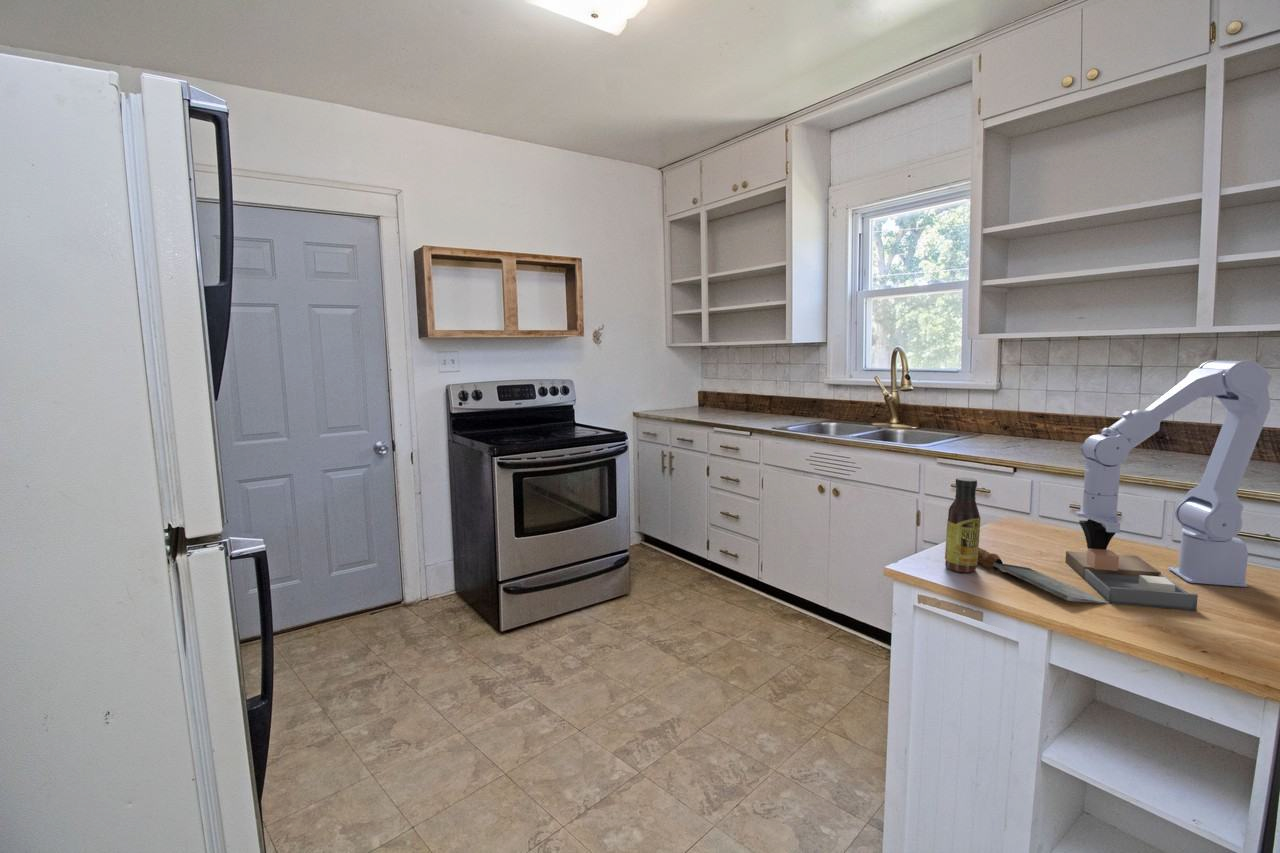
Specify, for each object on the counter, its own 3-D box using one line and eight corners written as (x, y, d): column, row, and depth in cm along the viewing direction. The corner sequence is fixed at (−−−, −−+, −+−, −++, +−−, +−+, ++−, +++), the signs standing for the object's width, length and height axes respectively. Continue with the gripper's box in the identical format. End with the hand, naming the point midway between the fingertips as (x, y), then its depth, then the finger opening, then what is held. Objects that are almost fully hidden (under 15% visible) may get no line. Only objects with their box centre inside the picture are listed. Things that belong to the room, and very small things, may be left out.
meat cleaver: (1118, 604, 112) (1120, 583, 112) (1067, 610, 110) (1068, 589, 110) (984, 549, 145) (985, 532, 144) (942, 552, 143) (943, 536, 142)
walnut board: (1136, 567, 129) (1136, 555, 129) (1159, 584, 120) (1161, 572, 119) (1065, 562, 133) (1066, 551, 133) (1083, 578, 123) (1083, 566, 123)
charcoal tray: (1160, 585, 119) (1162, 570, 119) (1196, 611, 108) (1197, 595, 107) (1083, 579, 123) (1084, 564, 123) (1109, 603, 111) (1111, 587, 111)
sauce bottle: (962, 576, 126) (966, 483, 124) (937, 566, 132) (941, 478, 130) (984, 571, 129) (989, 480, 126) (959, 562, 134) (963, 475, 132)
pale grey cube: (1175, 585, 111) (1173, 600, 111) (1164, 577, 114) (1163, 592, 115) (1148, 582, 112) (1147, 598, 112) (1139, 575, 116) (1138, 589, 116)
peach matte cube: (1109, 563, 124) (1110, 550, 124) (1117, 570, 121) (1119, 556, 120) (1086, 562, 126) (1087, 548, 125) (1094, 568, 122) (1095, 554, 121)
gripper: (1065, 484, 132) (1061, 544, 134) (1091, 500, 119) (1087, 566, 120) (1103, 485, 130) (1099, 546, 132) (1134, 502, 116) (1129, 569, 118)
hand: (1096, 556), depth 126 cm, fingers closed
